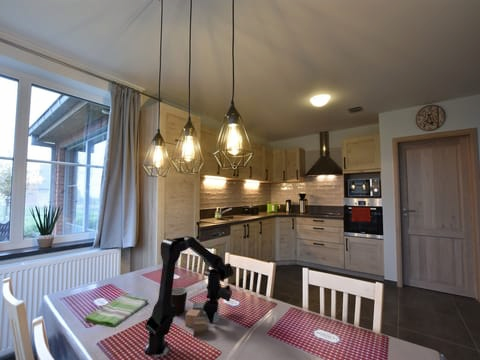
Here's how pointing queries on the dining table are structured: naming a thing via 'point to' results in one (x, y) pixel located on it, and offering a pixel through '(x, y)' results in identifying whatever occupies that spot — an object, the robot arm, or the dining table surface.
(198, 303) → the grey block
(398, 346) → the dining table surface
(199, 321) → the walnut block
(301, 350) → the dining table surface
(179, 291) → the coffee mug
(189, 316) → the terracotta block
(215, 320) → the grey cube
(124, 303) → the dish towel
